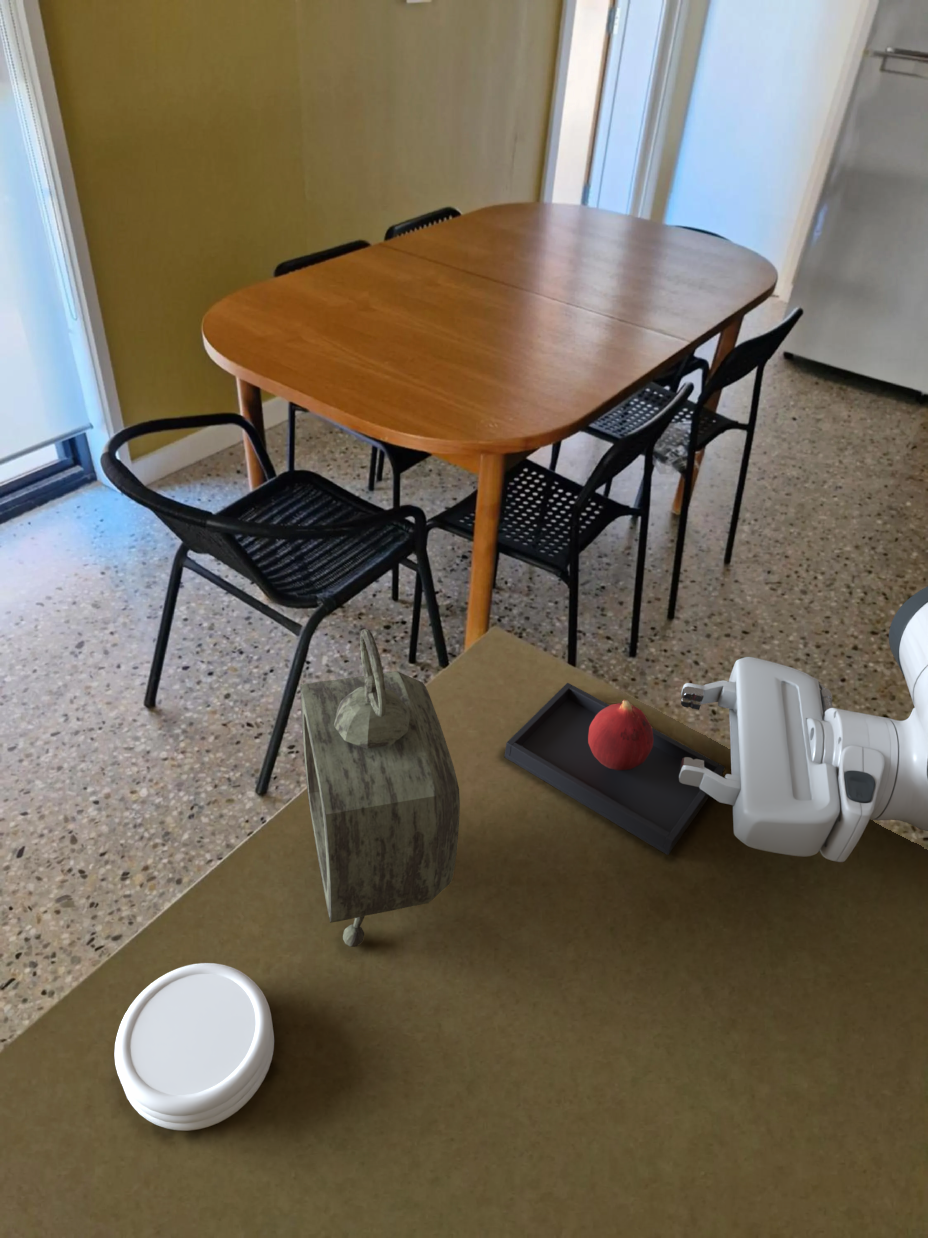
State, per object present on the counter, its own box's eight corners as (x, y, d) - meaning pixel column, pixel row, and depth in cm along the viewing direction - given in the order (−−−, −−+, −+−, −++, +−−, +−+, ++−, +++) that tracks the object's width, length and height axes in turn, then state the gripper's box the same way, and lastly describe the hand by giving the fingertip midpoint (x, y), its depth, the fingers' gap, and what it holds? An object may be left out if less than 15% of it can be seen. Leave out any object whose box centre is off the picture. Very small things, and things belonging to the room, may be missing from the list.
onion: (653, 758, 84) (672, 697, 79) (630, 798, 80) (648, 737, 75) (597, 732, 86) (612, 672, 81) (572, 770, 82) (585, 709, 77)
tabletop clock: (308, 816, 77) (292, 586, 61) (410, 799, 79) (421, 572, 63) (334, 970, 66) (324, 738, 50) (451, 945, 68) (477, 716, 52)
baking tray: (720, 781, 83) (725, 766, 82) (667, 855, 76) (672, 841, 75) (564, 696, 90) (567, 682, 89) (504, 757, 83) (506, 742, 82)
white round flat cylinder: (304, 1039, 62) (302, 1014, 60) (195, 1168, 55) (188, 1146, 53) (203, 960, 66) (197, 933, 64) (90, 1071, 59) (79, 1047, 57)
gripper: (840, 657, 83) (690, 630, 84) (873, 830, 67) (688, 793, 68) (818, 705, 86) (675, 678, 88) (844, 880, 71) (670, 843, 72)
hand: (681, 730), depth 78 cm, fingers open, 8 cm apart
